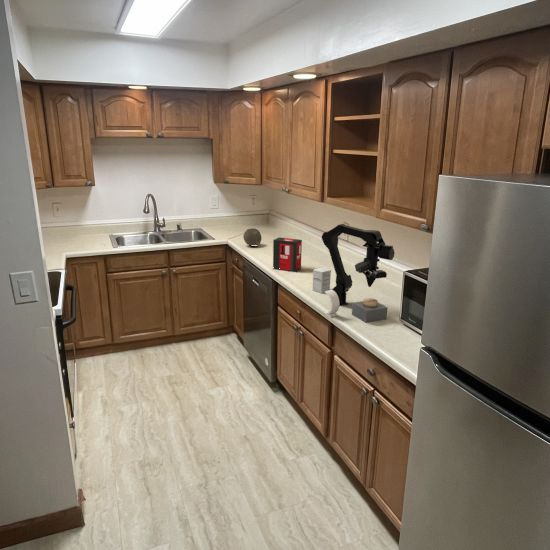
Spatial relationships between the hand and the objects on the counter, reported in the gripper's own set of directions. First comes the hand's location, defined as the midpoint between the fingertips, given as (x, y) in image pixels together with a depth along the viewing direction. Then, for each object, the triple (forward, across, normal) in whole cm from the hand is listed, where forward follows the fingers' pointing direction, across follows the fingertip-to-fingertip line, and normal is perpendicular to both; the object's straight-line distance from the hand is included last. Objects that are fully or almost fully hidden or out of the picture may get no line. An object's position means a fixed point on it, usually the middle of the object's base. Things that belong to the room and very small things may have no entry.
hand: (369, 286), depth 224 cm
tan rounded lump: (+10, +8, -4) cm, 13 cm away
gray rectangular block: (+13, +8, -4) cm, 16 cm away
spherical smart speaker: (+15, -154, -8) cm, 154 cm away
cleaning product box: (+14, -84, -8) cm, 86 cm away
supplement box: (+14, -36, -7) cm, 39 cm away
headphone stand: (+13, -1, -20) cm, 24 cm away
